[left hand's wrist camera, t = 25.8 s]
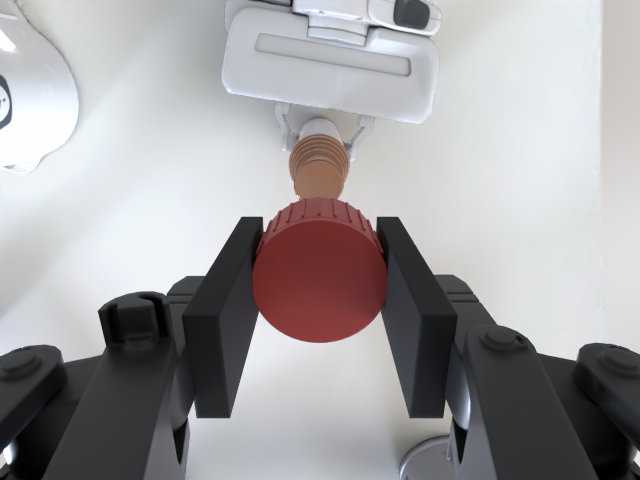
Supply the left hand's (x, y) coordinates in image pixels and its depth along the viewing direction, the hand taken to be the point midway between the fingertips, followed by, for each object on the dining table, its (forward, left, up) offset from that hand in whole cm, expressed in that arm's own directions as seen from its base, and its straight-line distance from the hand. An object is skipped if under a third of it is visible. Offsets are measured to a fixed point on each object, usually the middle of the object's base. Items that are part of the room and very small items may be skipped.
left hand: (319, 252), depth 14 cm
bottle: (0, 0, -34) cm, 34 cm away
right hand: (0, +1, -27) cm, 27 cm away
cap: (0, 0, 0) cm, 0 cm away
